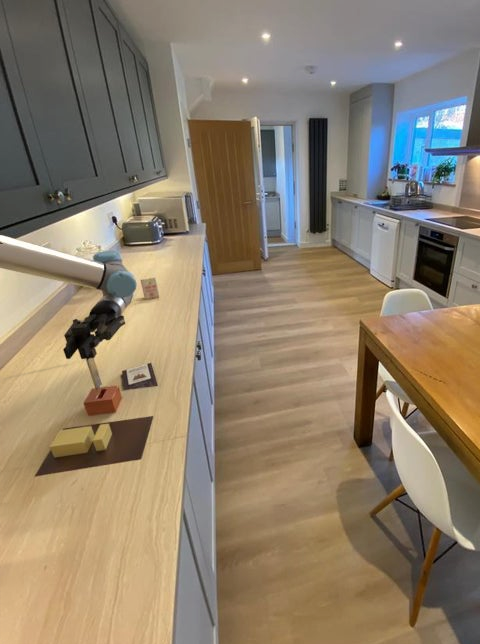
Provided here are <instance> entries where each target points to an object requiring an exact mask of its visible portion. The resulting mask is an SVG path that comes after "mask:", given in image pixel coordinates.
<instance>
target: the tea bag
mask: <svg viewBox="0 0 480 644" xmlns="http://www.w3.org/2000/svg"><path fill="white" fill-rule="evenodd" d="M140 282H141V284H140V285H141V289H142V292H143V298H144V301H146V300H151V299H152V300H153V299H157V298H160V294H159V293H160V292H159V288H158V283H157V279H156V277H151V278H143V279H140Z"/></svg>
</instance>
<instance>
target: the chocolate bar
mask: <svg viewBox="0 0 480 644" xmlns="http://www.w3.org/2000/svg"><path fill="white" fill-rule="evenodd" d="M155 374H156V373H155V371H154V367H153V364H152V362H148V363H145V364H142V365H138V366H134V367H131V368H127V369H123V370H121V376H122V381H123V389H124V391H130V390H139V389H147V388H154V387H159V385H158V381H157V377H156V375H155Z"/></svg>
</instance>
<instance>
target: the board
mask: <svg viewBox="0 0 480 644" xmlns="http://www.w3.org/2000/svg"><path fill="white" fill-rule="evenodd" d="M153 420H154V415H151V416H149V415H148V416H142V417H135V418H127V419H121V420H113V421H107V422H100V423H93V424H86V425H78V426H72V427H65V428H62V430H67V429H74V428H81V427H88V426H91V427H92V430H93V433H94V436H95V434H96V432H97V430H98V428H99V426H100V425H102V424H109V426H110V429H111V432H112V435H111V438H110V440H109V443H108V445H107V448H106V450H101V451H96V448H95V446H94V443H93V441H92V443H91V446H90V448H89V450H88V452H87V453H81V454H75V455H68V456H62V457H55V458H54V456H53V454H52V451H51V449H49V451H48V453H47V455H46V456H45V458H44V459H43V461H42V463H41V465H40V466H39V468H38V469H37V471H36V473H35V474H34V478H35V477H41V476H48V475H53V474H59V473H67V472H71V471H78V470H83V469H89V468H96V467H101V466H108V465H114V464H120V463H126V462H133V461H140V460H142V459H143V455H144V451H145V448H146V444H147V441H148V437H149V434H150V431H151V427H152V423H153Z"/></svg>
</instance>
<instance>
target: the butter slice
mask: <svg viewBox="0 0 480 644" xmlns="http://www.w3.org/2000/svg"><path fill="white" fill-rule="evenodd" d="M111 435H112V432H111V429H110V426H109V424H102V425H100V426H99V428H98V430H97V432H96V434H95V437H94V439H93V443H94V446H95V448H96V451H101V450H106V448H107V445H108V443H109V440H110V438H111Z"/></svg>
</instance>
